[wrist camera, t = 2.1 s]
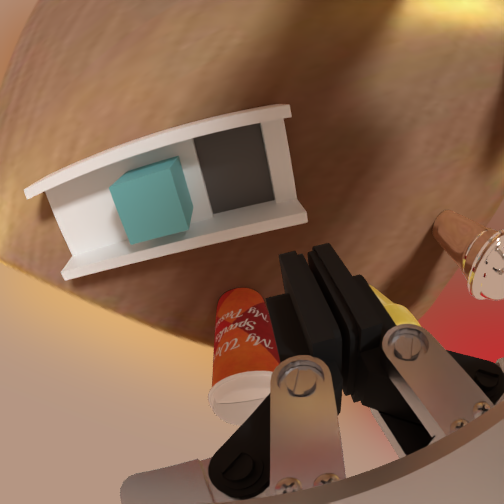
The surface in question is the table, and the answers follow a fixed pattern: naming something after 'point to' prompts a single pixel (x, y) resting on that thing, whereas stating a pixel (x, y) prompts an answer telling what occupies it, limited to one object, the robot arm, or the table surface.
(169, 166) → the teal block
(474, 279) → the cup with straw
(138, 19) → the table surface
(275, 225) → the trap channel
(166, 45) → the table surface
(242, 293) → the paper cup
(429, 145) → the table surface
